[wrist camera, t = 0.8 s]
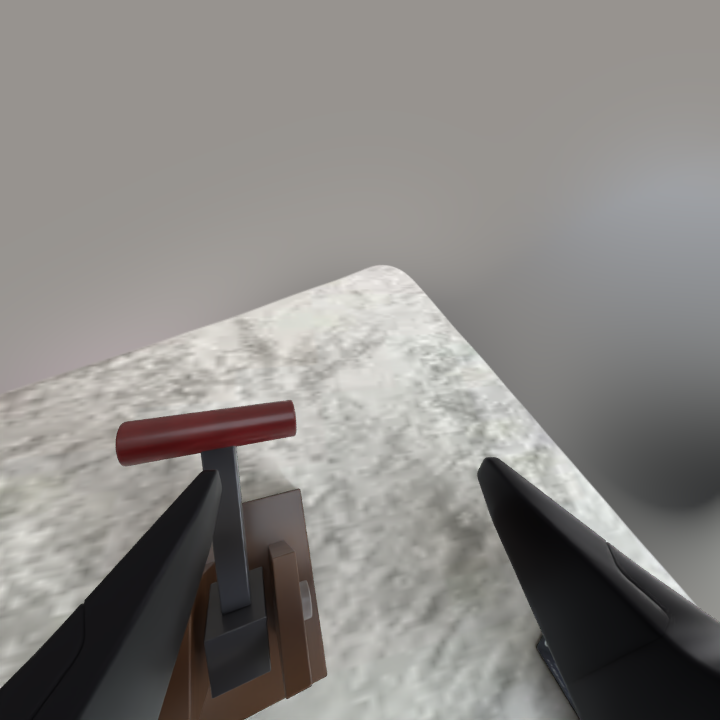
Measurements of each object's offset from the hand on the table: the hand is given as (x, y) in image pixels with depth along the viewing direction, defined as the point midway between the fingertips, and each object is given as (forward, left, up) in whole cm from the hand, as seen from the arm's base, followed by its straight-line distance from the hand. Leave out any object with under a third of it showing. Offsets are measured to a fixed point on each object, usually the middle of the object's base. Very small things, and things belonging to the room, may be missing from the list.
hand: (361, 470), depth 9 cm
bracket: (-6, +2, -14) cm, 15 cm away
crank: (-2, +4, -6) cm, 7 cm away
